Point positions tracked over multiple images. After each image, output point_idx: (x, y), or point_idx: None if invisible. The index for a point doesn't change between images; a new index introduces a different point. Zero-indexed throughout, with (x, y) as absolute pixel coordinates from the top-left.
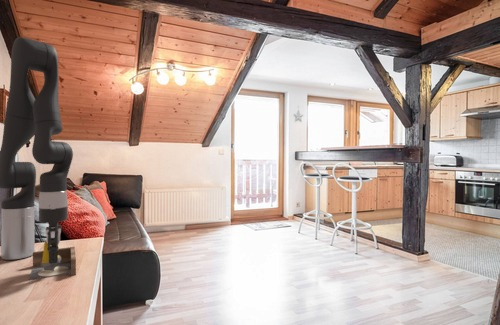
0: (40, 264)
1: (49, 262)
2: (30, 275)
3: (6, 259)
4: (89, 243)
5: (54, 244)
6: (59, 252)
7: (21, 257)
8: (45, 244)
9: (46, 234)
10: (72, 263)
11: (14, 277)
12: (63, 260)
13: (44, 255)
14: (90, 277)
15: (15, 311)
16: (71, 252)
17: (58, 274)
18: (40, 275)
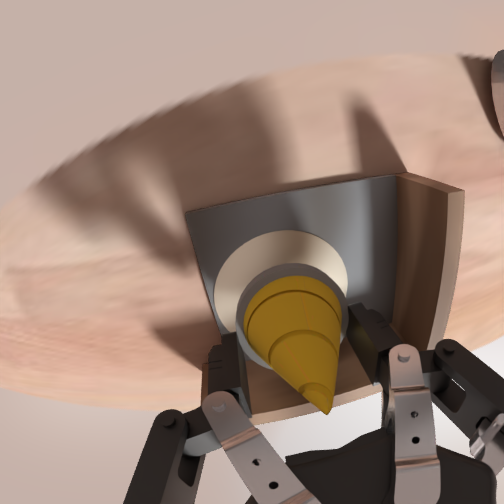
0: (401, 211)
1: (222, 337)
2: (255, 200)
3: (493, 62)
4: None
5: (384, 378)
6: (423, 314)
7: (498, 115)
8: (305, 392)
9: (303, 494)
10: None
11: (278, 115)
12: (398, 305)
13: (269, 329)
14: (175, 408)
15: None
16: (337, 396)
17: (223, 326)
18: (232, 253)
